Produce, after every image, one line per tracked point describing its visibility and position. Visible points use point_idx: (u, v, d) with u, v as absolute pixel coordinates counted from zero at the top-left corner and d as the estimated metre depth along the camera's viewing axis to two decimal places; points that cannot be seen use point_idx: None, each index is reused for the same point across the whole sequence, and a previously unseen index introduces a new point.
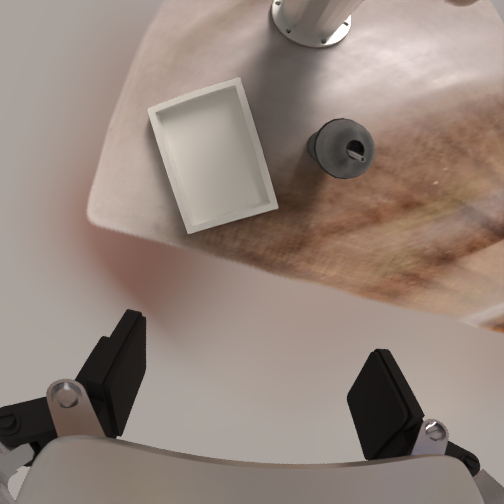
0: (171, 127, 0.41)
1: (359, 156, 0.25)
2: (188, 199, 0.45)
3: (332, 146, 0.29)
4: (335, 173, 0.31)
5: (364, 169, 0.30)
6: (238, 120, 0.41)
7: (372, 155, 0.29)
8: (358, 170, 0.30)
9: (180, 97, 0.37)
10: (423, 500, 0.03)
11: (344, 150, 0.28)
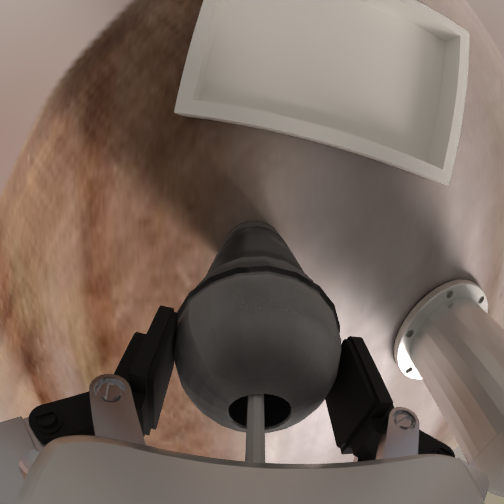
0: (418, 37, 0.16)
1: None
2: None
3: (299, 354, 0.09)
4: (204, 312, 0.10)
5: (188, 394, 0.10)
6: (377, 133, 0.19)
7: None
8: (192, 385, 0.10)
9: (464, 81, 0.15)
10: (423, 500, 0.03)
11: (273, 389, 0.08)
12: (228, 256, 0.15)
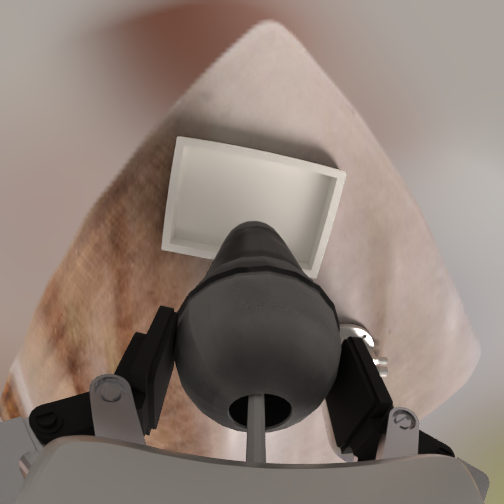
0: (308, 179, 0.36)
1: None
2: (217, 152, 0.34)
3: (299, 353, 0.09)
4: (204, 312, 0.10)
5: (189, 394, 0.10)
6: None
7: None
8: (193, 385, 0.10)
9: (334, 213, 0.35)
10: (423, 500, 0.03)
11: (274, 389, 0.08)
12: (228, 256, 0.15)
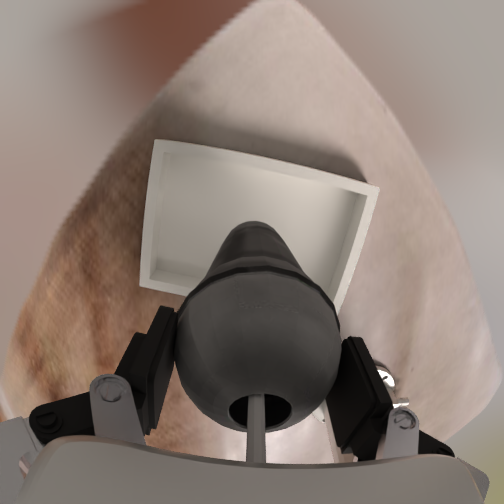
0: (329, 195, 0.27)
1: None
2: (209, 159, 0.26)
3: (299, 353, 0.09)
4: (204, 312, 0.10)
5: (188, 394, 0.10)
6: None
7: None
8: (193, 385, 0.10)
9: (361, 241, 0.26)
10: (423, 500, 0.03)
11: (274, 389, 0.08)
12: (228, 256, 0.15)
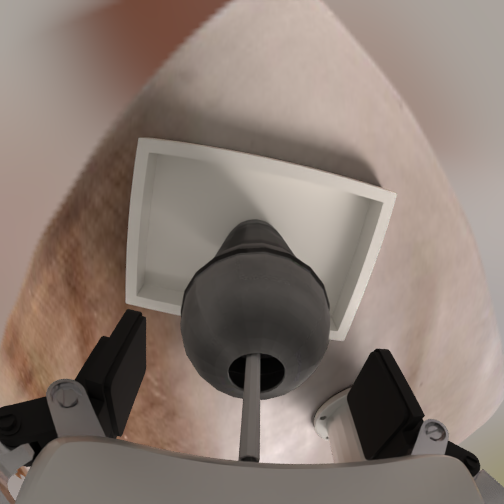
0: (339, 201, 0.24)
1: (258, 441, 0.06)
2: (202, 160, 0.22)
3: (291, 318, 0.10)
4: (209, 285, 0.12)
5: (193, 361, 0.12)
6: None
7: None
8: (197, 350, 0.11)
9: (375, 253, 0.23)
10: (423, 500, 0.03)
11: (268, 349, 0.10)
12: (230, 244, 0.16)
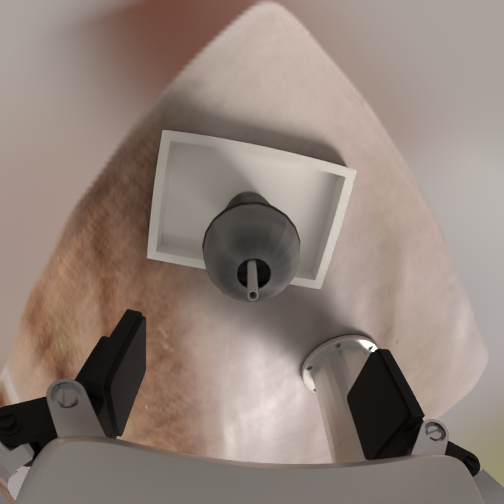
0: (312, 177, 0.31)
1: (257, 289, 0.14)
2: (209, 147, 0.30)
3: (273, 239, 0.18)
4: (224, 222, 0.19)
5: (213, 272, 0.19)
6: None
7: (230, 293, 0.20)
8: (216, 263, 0.19)
9: (341, 216, 0.31)
10: (423, 500, 0.03)
11: (261, 256, 0.18)
12: (233, 204, 0.24)
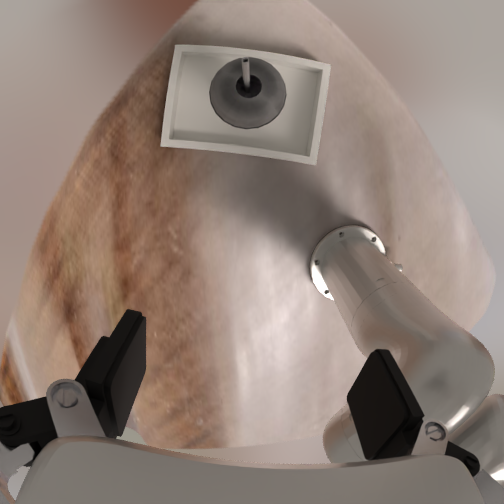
0: (297, 76, 0.34)
1: (248, 62, 0.17)
2: (212, 58, 0.33)
3: (261, 65, 0.21)
4: (225, 64, 0.22)
5: (218, 94, 0.23)
6: (270, 142, 0.38)
7: (232, 109, 0.23)
8: (220, 86, 0.22)
9: (324, 100, 0.33)
10: (423, 500, 0.03)
11: (253, 73, 0.21)
12: None
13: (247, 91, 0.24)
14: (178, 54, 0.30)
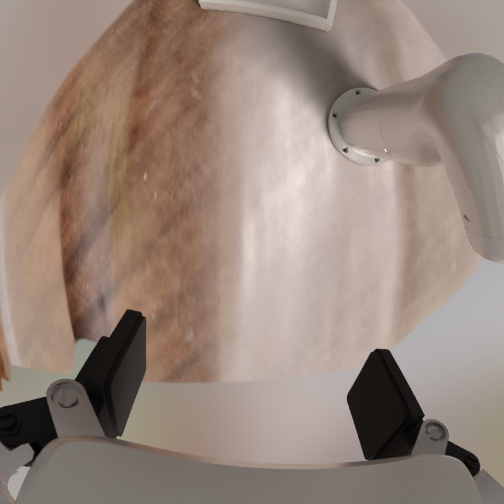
0: None
1: None
2: None
3: None
4: None
5: None
6: None
7: None
8: None
9: None
10: (423, 500, 0.03)
11: None
12: None
13: None
14: None
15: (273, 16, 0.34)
